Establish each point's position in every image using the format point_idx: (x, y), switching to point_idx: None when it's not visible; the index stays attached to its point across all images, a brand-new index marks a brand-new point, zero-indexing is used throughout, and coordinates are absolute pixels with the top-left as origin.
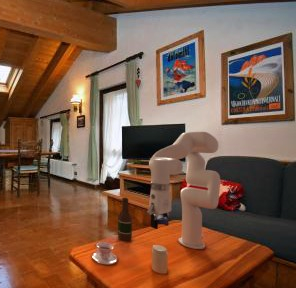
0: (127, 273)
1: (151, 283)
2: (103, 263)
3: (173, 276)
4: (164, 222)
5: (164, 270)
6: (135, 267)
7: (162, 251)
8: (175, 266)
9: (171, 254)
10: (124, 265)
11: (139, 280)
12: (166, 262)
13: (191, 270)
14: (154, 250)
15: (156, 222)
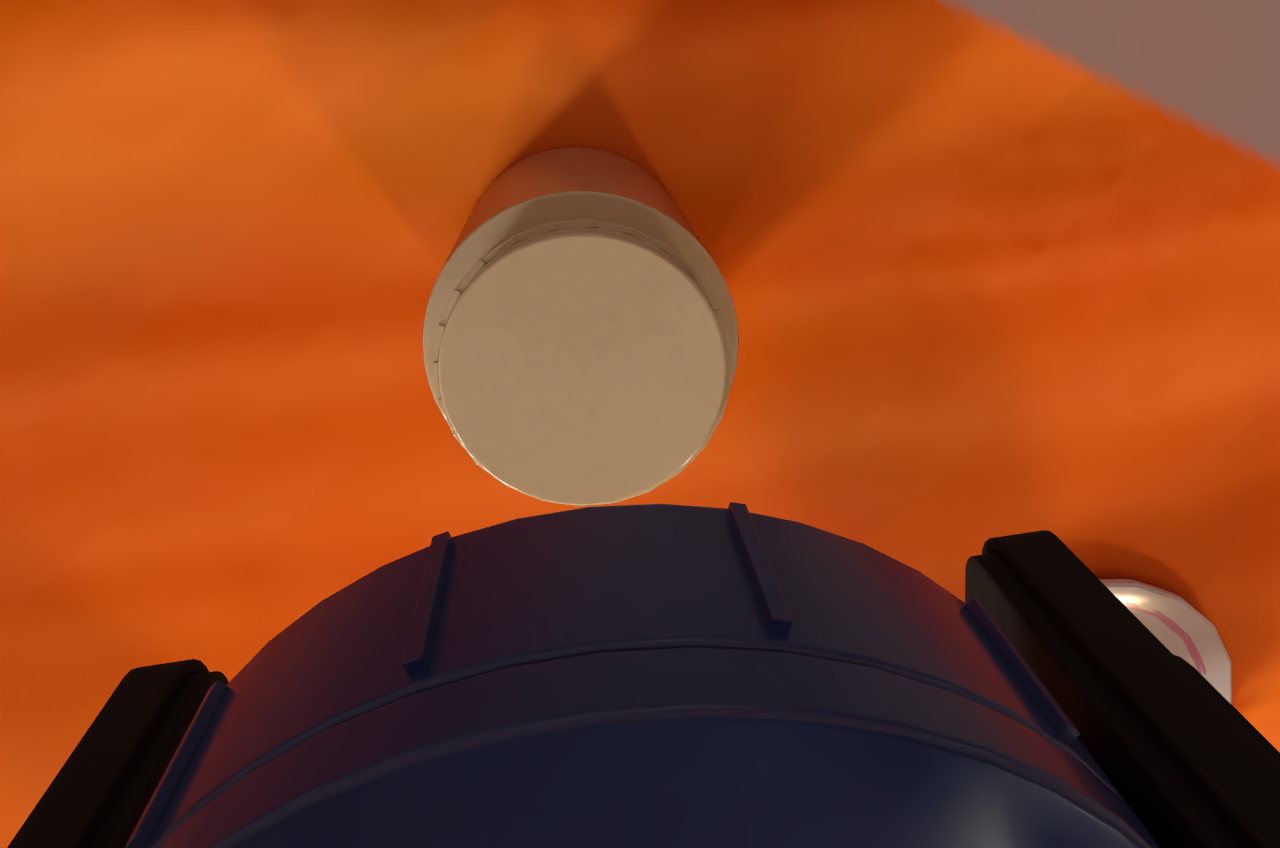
0: (1076, 354)
1: (977, 43)
2: (1200, 615)
3: (520, 35)
4: (812, 592)
5: (597, 155)
6: (865, 424)
7: (643, 244)
8: (258, 227)
9: (42, 504)
10: (963, 510)
11: (1066, 168)
12: (556, 169)
13: (71, 34)
14: (728, 371)
15: (1234, 770)
